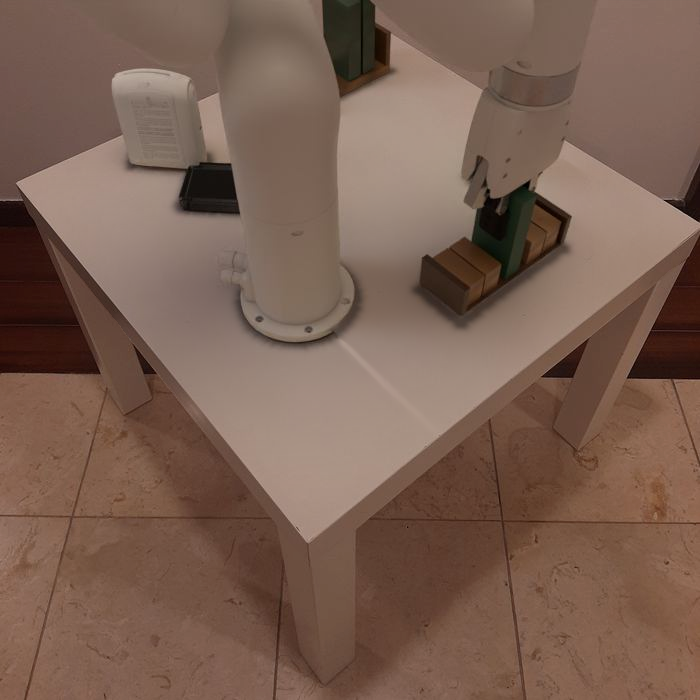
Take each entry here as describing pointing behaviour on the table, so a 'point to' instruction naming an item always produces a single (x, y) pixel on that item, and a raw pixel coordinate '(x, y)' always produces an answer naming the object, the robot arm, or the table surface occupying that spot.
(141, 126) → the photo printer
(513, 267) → the green book
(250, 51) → the robot arm
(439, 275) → the brown rack
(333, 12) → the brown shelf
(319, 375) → the table surface
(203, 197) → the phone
